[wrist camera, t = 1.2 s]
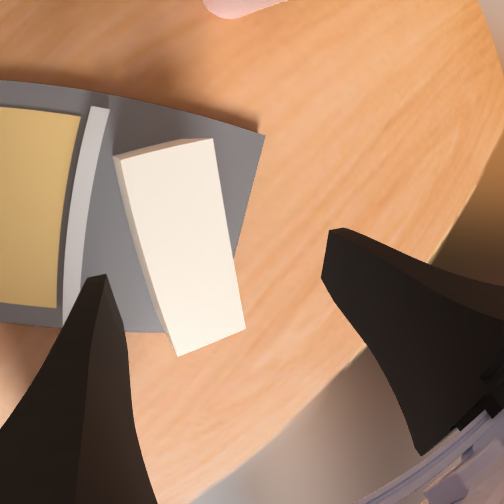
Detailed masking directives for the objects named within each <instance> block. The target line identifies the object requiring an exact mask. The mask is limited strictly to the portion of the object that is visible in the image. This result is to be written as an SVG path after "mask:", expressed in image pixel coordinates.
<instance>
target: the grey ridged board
mask: <svg viewBox="0 0 504 504" xmlns="http://www.w3.org/2000/svg"><path fill="white" fill-rule="evenodd" d="M196 138H213V142H214V149H215V155H216V161H217V167H218V173H219V179H220V185H221V191H222V197H223V203H224V209H225V215H226V221H227V227H228V233H229V239H230V244H231V250H232V256H233V259H234V255H235V251H236V247H237V243H238V239H239V236H240V232H241V228H242V224H243V220H244V216H245V212H246V208H247V204H248V200H249V196H250V193H251V189H252V185H253V181H254V177H255V173H256V169H257V166H258V162H259V158H260V154H261V150H262V147H263V143H264V139H265V135H262V134H259V133H256V132H253V131H250V130H247V129H244V128H241V127H237V126H234V125H231V124H228V123H224V122H221V121H218V120H214V119H211V118H207V117H204V116H200V115H197V114H193V113H189V112H186V111H182V110H178V109H174V108H170V107H166V106H162V105H158V104H153V103H149V102H145V101H140V100H136V99H131V98H126V97H121V96H116V95H111V94H106V93H100V92H95V91H89V90H83V89H76V88H70V87H63V86H55V85H48V84H39V83H30V82H19V81H6V80H0V322H6V323H14V324H23V325H32V326H42V327H54V328H62V327H63V325H64V323H65V321H66V319H67V317H68V315H69V313H70V311H71V309H72V307H73V305H74V303H75V301H76V299H77V297H78V295H79V292H80V290H81V288H82V286H83V284H84V282H85V281H86V279H87V277H92V276H97V275H102V274H107V277H108V280H109V283H110V286H111V289H112V292H113V295H114V298H115V301H116V304H117V307H118V309H119V312H120V315H121V318H122V320H123V324H124V330H125V332H147V333H166V332H165V330H164V328H163V326H162V324H161V322H160V320H159V318H158V316H157V314H156V311H155V309H154V306H153V303H152V300H151V297H150V294H149V291H148V288H147V285H146V281H145V278H144V275H143V272H142V269H141V266H140V262H139V259H138V256H137V252H136V249H135V245H134V242H133V238H132V235H131V231H130V227H129V224H128V220H127V216H126V212H125V208H124V204H123V200H122V196H121V192H120V188H119V184H118V179H117V175H116V170H115V166H114V161H113V156H114V155H118V154H122V153H125V152H129V151H133V150H136V149H140V148H144V147H148V146H152V145H156V144H161V143H165V142H169V141H174V140H178V139H196Z"/></svg>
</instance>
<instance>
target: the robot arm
mask: <svg viewBox="0 0 504 504" xmlns="http://www.w3.org/2000/svg"><path fill="white" fill-rule="evenodd" d="M321 279H322V281H323V283H324V285H325V286H326V288H327V290H328V292H329V294H330V295H331V297H332V299H333V300H334V302H335V303H336V305H337V306H338V307H339V309H340V310H341V311H342V313H343V314H344V315H345V317H346V318H347V319H348V321H349V322H350V323H351V325H352V326H353V327H354V329H355V330H356V331H357V333H358V334H359V335H360V337H361V338H362V339H363V341H364V342H365V343H366V344H367V346H368V347H369V349H370V350H371V352H372V353H373V355H374V356H375V358H376V360H377V361H378V363H379V365H380V367H381V369H382V370H383V372H384V374H385V376H386V377H387V380H388V382H389V383H390V386H391V387H392V390H393V392H394V394H395V396H396V398H397V400H398V403H399V405H400V407H401V409H402V412H403V414H404V416H405V419H406V422H407V425H408V427H409V430H410V433H411V436H412V439H413V443H414V446H415V449H416V450H417V451H418V453H419V454H420V456H423V455H424V454H426V453H427V452H429V451H430V450H431V449H433V448H434V447H435V446H437V445H438V444H439V443H441V442H442V441H443V440H444V439H446V438H447V437H448V436H450V435H451V434H452V433H453V432H454V431H455V430H457V429H459V431H460V432H459V433H458V434H457V435H456V436H454V437H453V438H452V439H451V440H449V441H448V442H447V443H446V444H444V445H443V446H442V447H441V448H439V449H438V450H437V451H435V452H434V453H433V454H431V455H430V456H429V457H427V458H426V459H424V460H423V461H422V462H420V463H419V464H417V465H416V466H414V467H413V468H412V469H410V470H408V471H407V472H405V473H404V474H403V475H401V476H399V477H398V478H396V479H395V480H393V481H391V482H390V483H388V484H386V485H385V486H383V487H381V488H380V489H378V490H376V491H375V492H373V493H371V494H369V495H367V496H366V497H364V498H362V499H360V500H358V501H356V502H354V503H353V504H396V503H398V502H399V501H401V500H402V499H404V498H405V497H407V496H408V495H410V494H411V493H413V492H414V491H416V490H417V489H419V488H420V487H421V486H423V485H424V484H425V483H427V482H428V481H430V480H431V479H432V478H433V477H435V476H436V475H437V474H439V473H440V472H441V471H442V470H444V469H445V468H446V467H447V466H449V465H450V464H451V463H452V462H453V461H455V460H456V459H457V458H458V457H459V456H461V455H462V456H461V457H462V460H461V462H460V463H459V464H458V465H456V466H455V467H453V468H452V469H450V470H449V471H448V472H446V473H445V474H443V475H442V476H441V477H439V478H438V479H437V480H435V481H434V482H433V483H432V484H431V485H430V486H429V487H428V488H426V489H425V490H424V492H423V494H424V495H425V497H426V498H427V499H426V500H424V501H423V502H421V503H420V504H504V287H503V286H499V285H494V284H489V283H485V282H481V281H477V280H474V279H470V278H466V277H463V276H460V275H456V274H453V273H451V272H448V271H445V270H442V269H440V268H437V267H434V266H432V265H429V264H427V263H425V262H422V261H420V260H418V259H415V258H413V257H411V256H408V255H406V254H404V253H402V252H400V251H397V250H395V249H393V248H391V247H389V246H387V245H385V244H382V243H380V242H378V241H376V240H374V239H371V238H369V237H367V236H365V235H362V234H360V233H358V232H355V231H352V230H350V229H347V228H339V229H333V230H329V234H328V240H327V246H326V252H325V258H324V263H323V269H322V275H321ZM0 504H158V503H157V500H156V498H155V495H154V492H153V489H152V486H151V483H150V480H149V477H148V474H147V471H146V467H145V464H144V461H143V457H142V454H141V450H140V446H139V442H138V438H137V434H136V430H135V424H134V418H133V410H132V400H131V388H130V375H129V361H128V349H127V343H126V337H125V330H124V324H123V320H122V318H121V315H120V312H119V309H118V307H117V304H116V301H115V298H114V295H113V292H112V289H111V286H110V283H109V280H108V277H107V274H102V275H97V276H92V277H87V279H86V281H85V282H84V284H83V286H82V288H81V290H80V292H79V295H78V297H77V299H76V301H75V303H74V305H73V307H72V309H71V311H70V313H69V315H68V317H67V319H66V321H65V323H64V325H63V327H62V329H61V331H60V333H59V335H58V337H57V339H56V341H55V343H54V345H53V347H52V348H51V350H50V352H49V354H48V356H47V358H46V360H45V362H44V363H43V365H42V367H41V369H40V370H39V372H38V374H37V376H36V377H35V379H34V380H33V382H32V384H31V385H30V387H29V389H28V390H27V392H26V393H25V395H24V396H23V397H22V399H21V400H20V402H19V403H18V405H17V406H16V408H15V409H14V411H13V412H12V414H11V415H10V417H9V418H8V419H7V421H6V422H5V423H4V425H3V426H2V427H1V429H0Z"/></svg>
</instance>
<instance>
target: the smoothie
mask: <svg viewBox="0 0 504 504" xmlns="http://www.w3.org/2000/svg"><path fill="white" fill-rule="evenodd" d="M285 1H288V0H202V2H203V4H204V6H205V7H206V8H207V9H208V10H209V11H210V12H211V13H213V14H214V15H216V16H218V17H221V18H224V19H237V18H240V17H243V16H245V15H248V14H250V13H253V12H256V11H258V10H261V9H264V8H267V7H270V6H272V5H275V4H278V3H281V2H285Z"/></svg>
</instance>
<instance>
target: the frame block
mask: <svg viewBox="0 0 504 504" xmlns="http://www.w3.org/2000/svg"><path fill="white" fill-rule="evenodd" d="M113 161H114V166H115V170H116V175H117V179H118V184H119V188H120V192H121V196H122V200H123V204H124V208H125V212H126V216H127V220H128V224H129V227H130V231H131V235H132V238H133V242H134V245H135V249H136V252H137V256H138V259H139V262H140V266H141V269H142V272H143V275H144V278H145V281H146V285H147V288H148V291H149V294H150V297H151V300H152V303H153V306H154V309H155V311H156V314H157V316H158V318H159V320H160V322H161V324H162V326H163V328H164V330H165V332H166V334H167V336H168V338H169V340H170V342H171V344H172V346H173V348H174V350H175V352H176V354H177V356H181V355H184V354H186V353H189V352H191V351H194V350H196V349H198V348H201V347H203V346H206V345H208V344H211V343H213V342H216V341H218V340H220V339H223V338H225V337H227V336H230V335H232V334H234V333H237V332H239V331H241V330H244V329H246V327H245V322H244V317H243V311H242V306H241V300H240V295H239V289H238V284H237V278H236V273H235V267H234V261H233V256H232V250H231V244H230V239H229V233H228V227H227V221H226V215H225V209H224V203H223V197H222V191H221V185H220V179H219V173H218V167H217V161H216V155H215V149H214V142H213V138H196V139H178V140H174V141H169V142H165V143H161V144H156V145H152V146H148V147H144V148H140V149H136V150H133V151H129V152H125V153H122V154H118V155H114V156H113Z"/></svg>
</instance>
